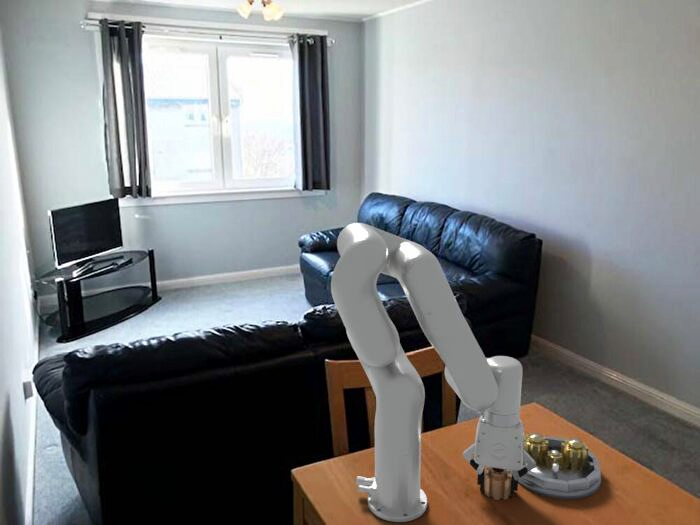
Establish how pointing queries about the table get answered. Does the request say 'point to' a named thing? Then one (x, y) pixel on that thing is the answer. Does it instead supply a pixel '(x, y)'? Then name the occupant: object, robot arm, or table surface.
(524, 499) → the table surface
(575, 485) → the carrier
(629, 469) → the table surface
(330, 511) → the table surface
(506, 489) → the planet gear
